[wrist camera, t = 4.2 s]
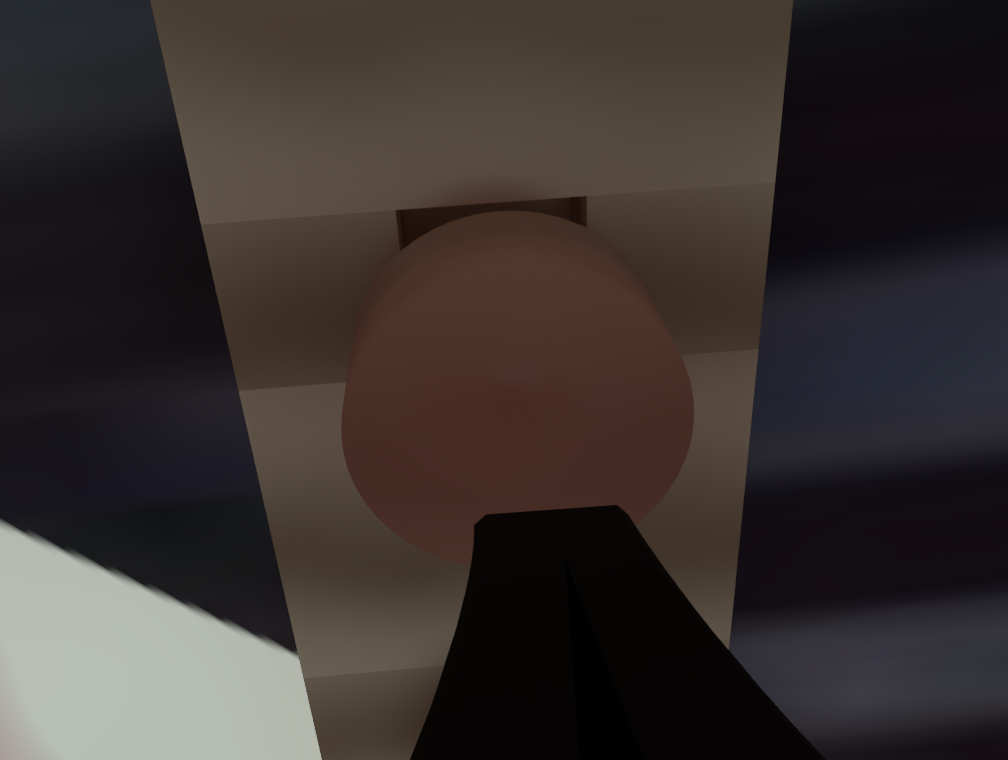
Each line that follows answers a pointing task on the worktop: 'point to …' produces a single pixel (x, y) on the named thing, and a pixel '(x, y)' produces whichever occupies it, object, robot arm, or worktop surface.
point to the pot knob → (510, 381)
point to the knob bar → (442, 199)
